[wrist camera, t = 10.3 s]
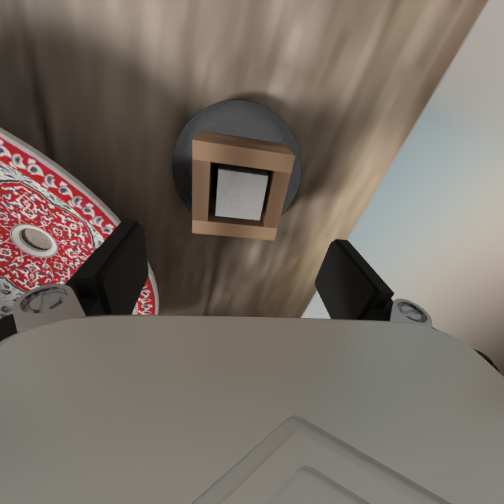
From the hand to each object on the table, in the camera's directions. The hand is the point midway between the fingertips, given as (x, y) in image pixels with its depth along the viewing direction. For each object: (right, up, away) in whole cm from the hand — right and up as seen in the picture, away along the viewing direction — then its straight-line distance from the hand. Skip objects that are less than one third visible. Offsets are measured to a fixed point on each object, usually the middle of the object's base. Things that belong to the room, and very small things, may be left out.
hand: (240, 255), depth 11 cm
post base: (-1, +8, +11) cm, 14 cm away
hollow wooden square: (-1, +7, +10) cm, 12 cm away
